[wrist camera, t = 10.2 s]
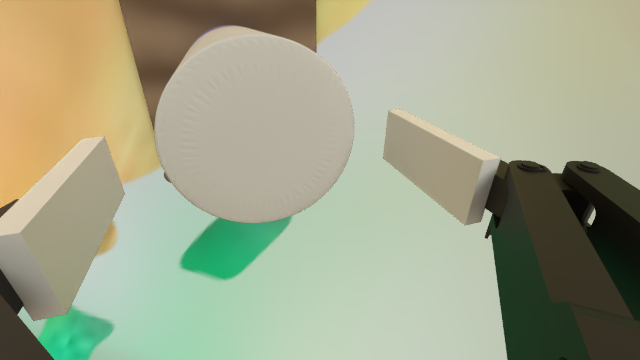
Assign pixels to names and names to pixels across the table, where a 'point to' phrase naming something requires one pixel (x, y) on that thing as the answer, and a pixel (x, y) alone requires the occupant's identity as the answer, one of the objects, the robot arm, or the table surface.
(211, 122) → the container
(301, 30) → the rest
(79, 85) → the table surface
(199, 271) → the table surface
